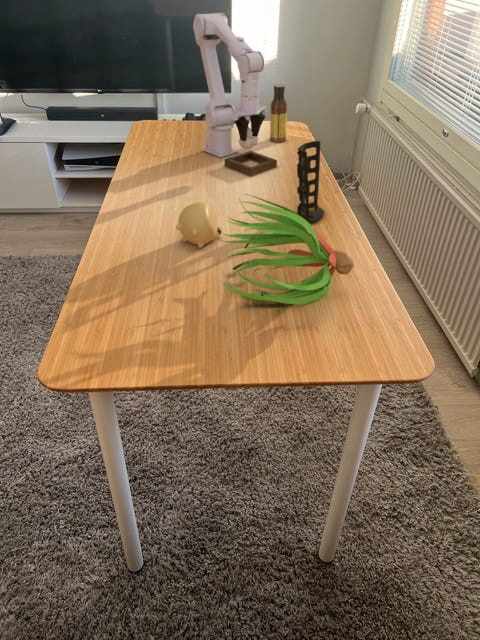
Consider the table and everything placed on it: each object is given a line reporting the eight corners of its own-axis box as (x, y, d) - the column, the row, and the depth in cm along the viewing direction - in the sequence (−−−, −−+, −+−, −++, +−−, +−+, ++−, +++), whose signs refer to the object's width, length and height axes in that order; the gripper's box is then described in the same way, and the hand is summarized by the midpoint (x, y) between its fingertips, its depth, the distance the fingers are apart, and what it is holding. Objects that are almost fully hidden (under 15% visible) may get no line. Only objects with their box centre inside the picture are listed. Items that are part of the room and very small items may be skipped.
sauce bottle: (286, 137, 203) (289, 83, 191) (285, 143, 198) (289, 87, 186) (269, 137, 203) (272, 83, 191) (268, 142, 198) (271, 87, 186)
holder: (322, 224, 142) (323, 152, 130) (295, 224, 144) (293, 153, 132) (325, 208, 151) (326, 139, 139) (299, 208, 152) (298, 140, 141)
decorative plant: (357, 331, 113) (226, 351, 106) (315, 256, 129) (199, 269, 121) (396, 239, 94) (240, 255, 86) (342, 164, 110) (206, 172, 102)
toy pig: (214, 259, 134) (234, 223, 135) (194, 240, 123) (215, 202, 124) (186, 246, 138) (205, 212, 139) (164, 227, 128) (184, 190, 128)
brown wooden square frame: (224, 166, 177) (224, 158, 176) (250, 157, 184) (250, 150, 183) (250, 176, 170) (250, 169, 168) (276, 167, 177) (277, 160, 176)
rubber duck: (239, 145, 175) (239, 121, 170) (258, 145, 174) (259, 121, 170) (238, 150, 170) (238, 126, 165) (258, 151, 170) (259, 126, 165)
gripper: (242, 101, 156) (241, 146, 164) (274, 93, 164) (272, 136, 172) (226, 96, 160) (226, 140, 168) (258, 89, 168) (257, 131, 176)
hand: (248, 138), depth 170 cm, fingers closed on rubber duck, 5 cm apart
